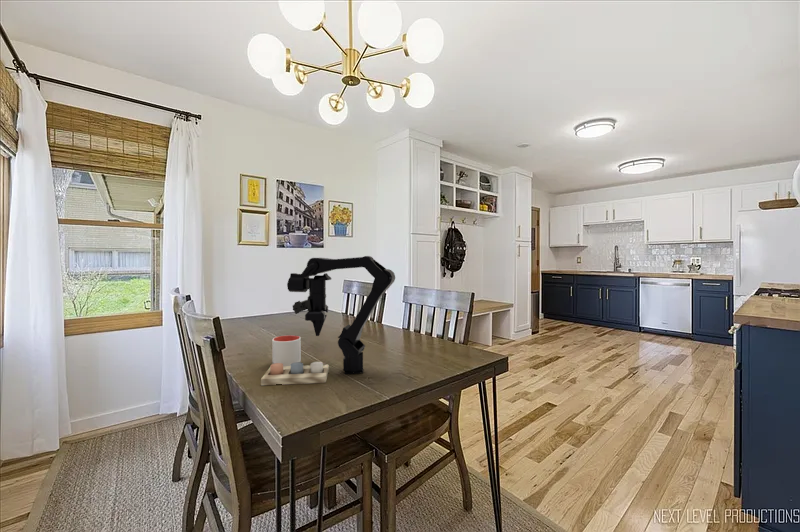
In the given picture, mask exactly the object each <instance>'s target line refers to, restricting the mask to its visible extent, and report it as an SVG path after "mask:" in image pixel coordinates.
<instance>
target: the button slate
mask: <svg viewBox="0 0 800 532" xmlns="http://www.w3.org/2000/svg"><path fill="white" fill-rule="evenodd" d="M303 366H304V363H303V362H302V361H300V362H296V363H292V364H291V374H303Z"/></svg>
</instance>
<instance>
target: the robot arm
mask: <svg viewBox="0 0 800 532" xmlns="http://www.w3.org/2000/svg"><path fill="white" fill-rule="evenodd" d="M358 268H364V269H366V270H367V272H368V273H369V274H370V276H372V277H373V278H374V279H373V282H372V286H371V290H370V292H369V294H368V296H367V297H366V299H365V301H364V303H363V304H362V306H361V307H360V310H359V312H358V313H357V315H356V316H355V318H354V320H353V322H351V323H352V324H347V325H346V326H344V327H343V328H342V331H341V332H340V334H339V336H337V338H338V340H337V345H338V348H339V349H340V350H341V352H342V355H343V358H342V360H343V361H342V362H343V363H342V365H343V366H342V367H343V369H342V370H343V371H344V375H351V374H352V375H354V374H357V375H358V374H364V350H365V347H366V344H365V343H364V342H362V341H361V337H362V333H363V329H364V327H365V326H366V323H367V321H368V320H369V318H370V316H371V314H372V313H373V311H374V310H375V308H376V306H377V304H378V303H379V301H380V299H381V297H382V296H384V295H383V294H385V293H386V292H387V291H388V290H389V288H391V286H392V285H393V284H394V283H395V280H396V275H395V273H394V271H393V270H392V269H389V268H388V269H387V268H386V267H385V266H383V265H382V264H381V263H379V262H378V261H376V260H375V259H374V258H373V256H370V255H365V256H358V257H347V258H328V257H311V258H309V259H308V261H307V263H306V267H304V270H302V272H301V273H297V272H296V273H295V272H293V273H292V272H291V273H290V275H289V276H290V277H289V278H288V280H287V283H286V286H287V287H286V288H287V290H288V292H289V293H306V292H307V291H308V294H309V295H308V296H307V299H305V300H302V301H301V300H298V301H295V302H294V304H292V311H294V314H295V315H297V314H298V315H299V313H301V312H304V311H307V312H306V313H305V315H304V317H305V318H304V320H305V321H306V322H307V321H308V322H309V321H311V323H312V325H313V330H314V334H315V337H319V336H320V334H321V331H322V329H323V327H324V323H325V321H326V319H327V316H328V315H327V314H326V313H328V312H329V306H328V305H327V304H326V300H327V294H326V289H327V288H326V283H327V282H326V281H331V280H332V277H331V276H330V275H329V274H328V273H327V272H331V271H336V270H343V269H358ZM318 274H319V275H318ZM320 274H323V275H320ZM313 276H314V277H313ZM325 312H326V313H325Z"/></svg>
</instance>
